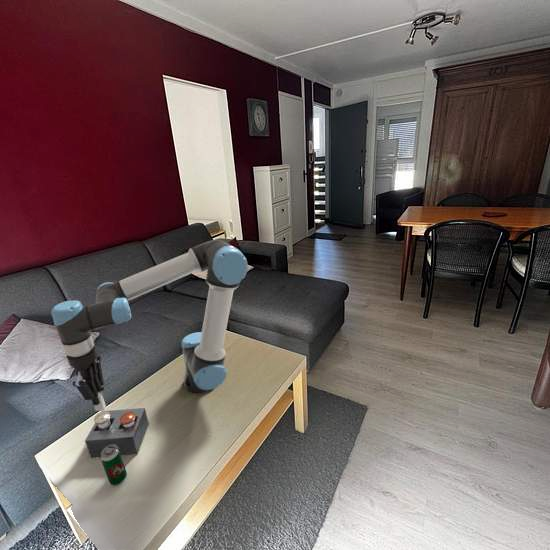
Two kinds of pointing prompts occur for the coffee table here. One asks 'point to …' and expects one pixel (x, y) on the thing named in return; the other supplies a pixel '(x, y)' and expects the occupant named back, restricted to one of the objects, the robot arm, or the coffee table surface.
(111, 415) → the housing
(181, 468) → the coffee table surface
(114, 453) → the soda can
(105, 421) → the white light bulb
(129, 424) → the orange light bulb
